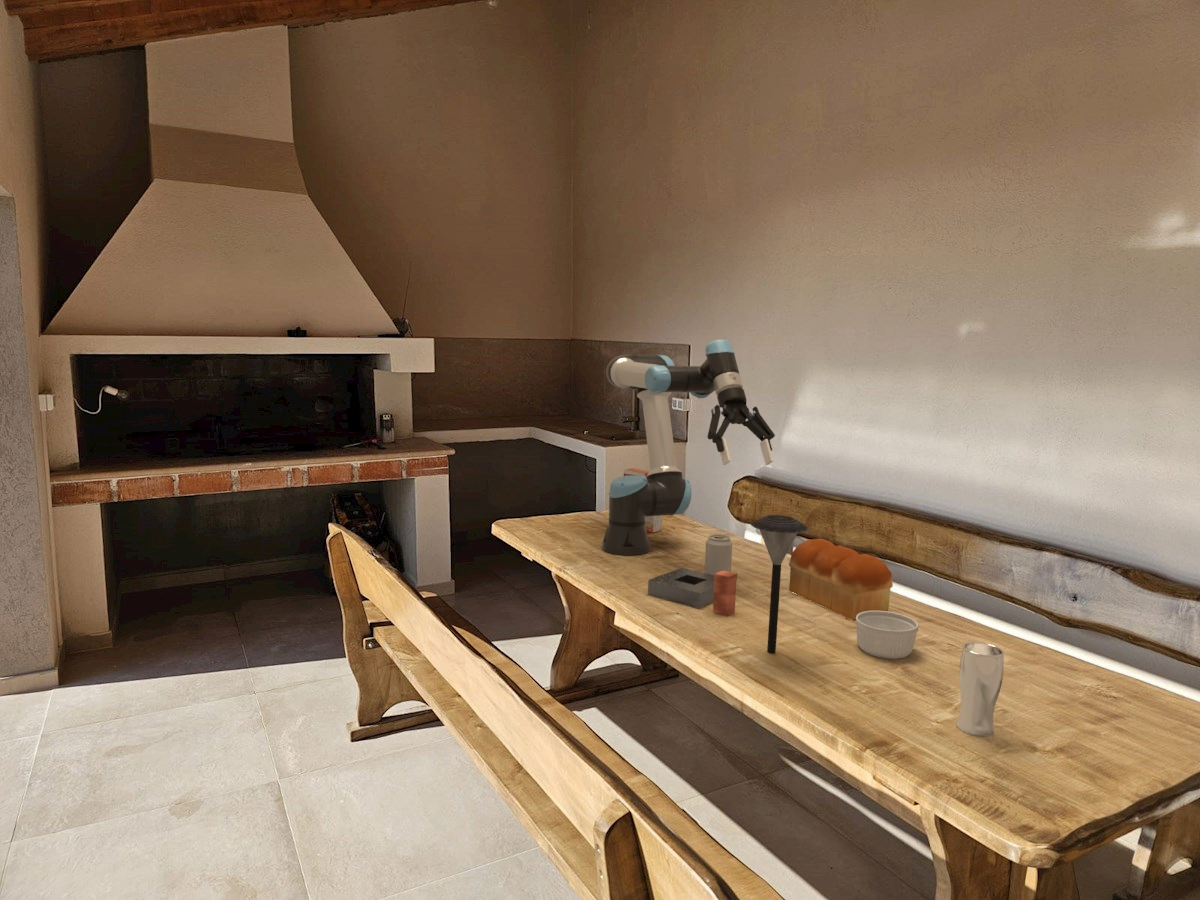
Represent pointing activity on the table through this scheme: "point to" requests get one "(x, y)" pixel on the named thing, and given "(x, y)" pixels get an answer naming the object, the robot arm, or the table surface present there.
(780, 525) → the solar garden light
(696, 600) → the socket block
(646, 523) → the cracker box
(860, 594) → the bread
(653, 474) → the robot arm
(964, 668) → the beer glass
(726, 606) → the peg
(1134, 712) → the table surface
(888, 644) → the ramekin
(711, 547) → the can
